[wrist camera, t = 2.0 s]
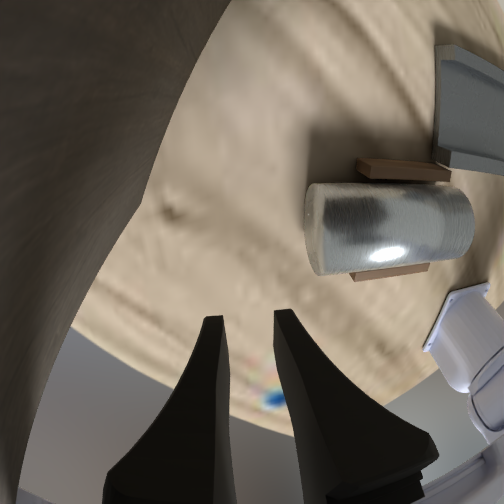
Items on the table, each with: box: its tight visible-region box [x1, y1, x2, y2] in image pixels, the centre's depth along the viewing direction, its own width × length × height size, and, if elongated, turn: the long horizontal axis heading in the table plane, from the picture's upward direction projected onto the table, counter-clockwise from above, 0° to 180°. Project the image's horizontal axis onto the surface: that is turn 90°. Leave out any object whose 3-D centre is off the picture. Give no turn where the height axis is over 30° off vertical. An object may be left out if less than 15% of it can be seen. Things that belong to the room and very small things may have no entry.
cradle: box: [431, 44, 504, 176], centre depth 14 cm, size 9×10×2 cm
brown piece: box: [349, 158, 451, 282], centre depth 18 cm, size 8×7×2 cm
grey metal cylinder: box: [304, 183, 475, 276], centre depth 17 cm, size 11×5×5 cm, turn 92°
